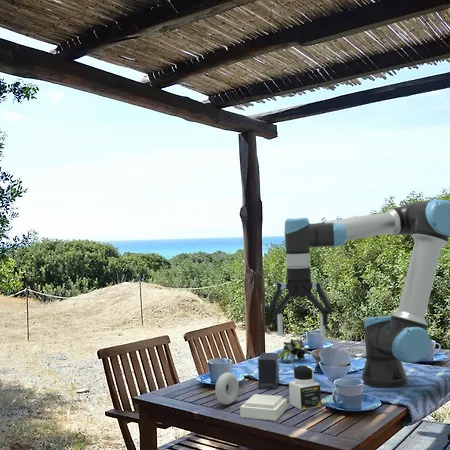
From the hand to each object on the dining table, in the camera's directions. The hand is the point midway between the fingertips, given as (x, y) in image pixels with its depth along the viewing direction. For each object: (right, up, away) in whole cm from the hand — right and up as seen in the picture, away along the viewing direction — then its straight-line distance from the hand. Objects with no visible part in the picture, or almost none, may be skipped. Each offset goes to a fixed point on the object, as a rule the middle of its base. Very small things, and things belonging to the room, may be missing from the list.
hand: (301, 335), depth 169 cm
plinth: (-12, -22, -6) cm, 26 cm away
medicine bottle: (+1, -22, -1) cm, 22 cm away
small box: (-8, -23, +24) cm, 34 cm away
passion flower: (+5, -23, +57) cm, 61 cm away
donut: (-23, -23, +4) cm, 33 cm away
